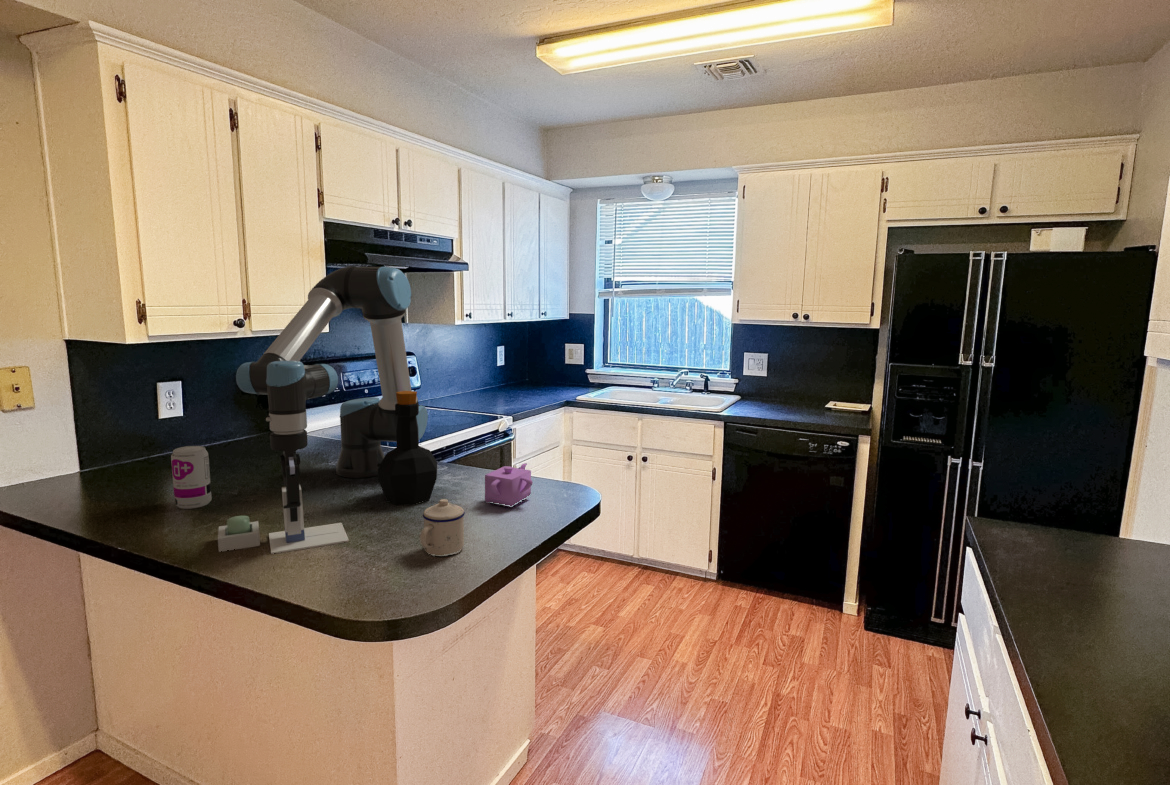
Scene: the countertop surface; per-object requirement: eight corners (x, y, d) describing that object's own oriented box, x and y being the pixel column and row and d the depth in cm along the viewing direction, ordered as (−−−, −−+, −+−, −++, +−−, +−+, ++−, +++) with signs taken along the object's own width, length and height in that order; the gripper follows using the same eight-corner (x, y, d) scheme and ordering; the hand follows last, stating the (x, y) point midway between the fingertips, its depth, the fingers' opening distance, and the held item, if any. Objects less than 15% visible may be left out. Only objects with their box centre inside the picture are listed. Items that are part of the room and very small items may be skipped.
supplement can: (194, 511, 160) (190, 454, 157) (167, 508, 161) (162, 451, 159) (219, 500, 168) (215, 446, 165) (192, 498, 169) (188, 444, 167)
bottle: (446, 502, 171) (445, 394, 166) (385, 511, 163) (382, 398, 158) (429, 486, 185) (427, 386, 180) (372, 494, 176) (368, 389, 171)
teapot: (507, 489, 184) (507, 455, 182) (548, 496, 178) (549, 462, 176) (471, 507, 168) (471, 471, 166) (515, 516, 162) (516, 479, 160)
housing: (259, 533, 147) (258, 521, 146) (260, 545, 140) (259, 532, 139) (219, 538, 143) (218, 526, 143) (218, 551, 136) (217, 538, 136)
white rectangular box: (303, 534, 146) (299, 484, 144) (304, 539, 142) (301, 489, 140) (285, 537, 144) (281, 487, 142) (286, 543, 141) (282, 492, 139)
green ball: (250, 530, 144) (249, 514, 144) (250, 536, 140) (249, 520, 140) (228, 533, 142) (227, 517, 141) (227, 540, 138) (226, 523, 138)
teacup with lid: (441, 538, 146) (440, 491, 145) (472, 546, 143) (472, 497, 141) (405, 557, 136) (404, 506, 134) (438, 566, 132) (438, 514, 130)
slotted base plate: (341, 524, 154) (341, 522, 154) (348, 541, 143) (348, 539, 143) (268, 534, 146) (268, 533, 146) (271, 554, 136) (271, 552, 136)
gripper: (267, 424, 144) (273, 520, 148) (271, 440, 130) (277, 546, 134) (303, 421, 148) (307, 516, 152) (310, 437, 134) (315, 540, 137)
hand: (293, 530), depth 143 cm, fingers closed on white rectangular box, 4 cm apart
